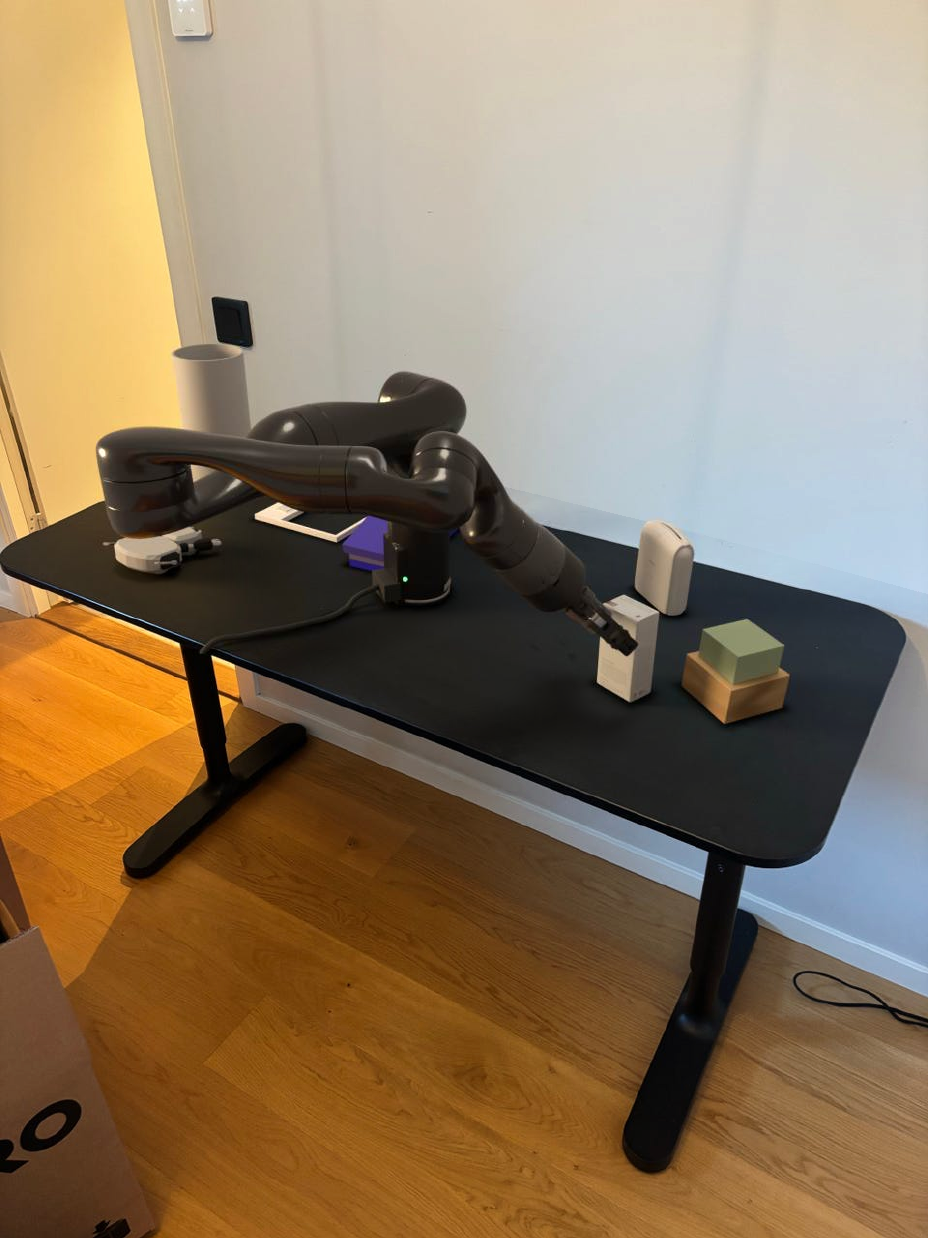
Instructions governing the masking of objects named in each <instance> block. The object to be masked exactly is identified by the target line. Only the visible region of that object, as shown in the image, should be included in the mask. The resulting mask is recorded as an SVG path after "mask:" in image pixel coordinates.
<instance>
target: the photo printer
mask: <svg viewBox="0 0 928 1238" xmlns="http://www.w3.org/2000/svg"><path fill="white" fill-rule="evenodd" d="M638 543H639V545H638V551H637V552H638V553H637V560H636V561H637V562H636V568H635V569H636V570H635V578H634V588H635V590H636V591H637V592H638V593H639V594H640V595H641V596H642V597H643V598H644V599H645V600H646V601H647V602H649V604H651V605H652V606H654V608H656V609H657V611H659V612H661V613H662V614H664V615H667V616H679V615H681V614H683V613H684V611H686V609H687V605H688V598H689V591H690V584H691V577H692V571H693V565H694V559H695V549H694V546H693V544H692V542H691V541H690V540H689V538H688V537H687V536H686V535H685V534H684V533H683V532H682V531H681V530H680V529H679V528H678V527H676V526H675V525H673V524H672V523H670V522H668V521H665V520H661V519H653V520H648V521H647V522H645V524H644V525H643V527H642V528H641V531H640V536H639V542H638Z"/></svg>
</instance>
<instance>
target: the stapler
mask: <svg viewBox="0 0 928 1238" xmlns="http://www.w3.org/2000/svg"><path fill="white" fill-rule="evenodd" d="M364 518H365V520H364V521H363V522H362V523H361V524H360V525H359V526H358V527H357V529H356V530H355V531H354V532H353V533H352V534H350V535H348V537H347V539H346V540H345V541H344V542H343V543H342V549H343V553H345V554H348V558H349V559H348V560H349V567H353V568H358V569H362V570H366V571H371V572H372V570H377V569H383V568H384V551H383V533H385V532H388V531H387V521H385V520H382V519H378V518H375V517H372V516H368V515H366V517H364ZM458 530H460V528H458V529H455V530H453V531H450V537H451V536H452V535H454V533H455V534H456V533H457V531H458Z"/></svg>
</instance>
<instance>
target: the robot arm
mask: <svg viewBox="0 0 928 1238" xmlns="http://www.w3.org/2000/svg"><path fill="white" fill-rule="evenodd" d="M467 411H468V409H467V404H466V400H465V398H464V396H463V394H462V393H461V392H460V391H459V389H458V388H457V387H455V386H454V385H452V384H451V383H449V382H447V381H445V380H444V379H443V380H442V379H440V378H439V379H438V378H436V377H431V376H428V375H425V374H421V373H417V372H412V371H409V370H408V371H407V370H401V371H397V372H394V373H393V374H391V375H390V376H388V378H387V379H386V380H385V381H384V382H383V384H382V386H381V389H380V391H379V394H378V398H377V401H375V402H373V401H372V402H371V401H342V400H341V401H340V400H339V401H335V400H334V401H317V402H311V403H304V404H301V405H296V406H291V407H289V408H288V407H287V408H285V409H280V410H277V411H273V412H271V413H269V414H267V415H266V416H264V417H263V418H262V419H260V420H259V421H258V422H257V423H256V424H255V425H254V426H253V427H251V430H250V431H249V433H248V434H247V435H246V436H245V437H244V438H242V437H236V436H229V435H223V434H215V433H208V432H200V431H193V430H186V429H182V428H177V427H169V426H153V425H151V426H150V425H146V426H144V425H143V426H132V427H127V428H126V427H125V428H121V429H117V430H114V431H110V432H109V433H106V435H104V436H102V437H101V438H100V439H99V440H98V441H97V443H96V445H95V458H96V463H97V468H98V469H97V470H98V475H99V479H100V485H101V489H102V494H103V500H104V503H105V509H106V513H107V518H108V520H109V523H110V526H111V528H112V530H113V531H114V532H115V533H116V534H117V535H118V536H121V537H123V538H131V539H145V538H153V537H158V536H163V535H167V534H170V533H173V532H176V531H179V530H182V529H185V528H187V527H193V526H195V525H197V524H200V523H202V522H205V521H207V520H210V519H212V518H213V517H217V516H219V515H220V514H223V513H226V512H228V511H230V510H232V509H235V508H237V507H239V506H242V505H244V504H247V503H249V502H252V501H255V500H258V499H261V498H264V497H268V498H270V499H271V500H274V501H275V502H276V503H278V502H279V503H281V504H283V505H285V506H287V507H289V508H292V509H295V510H298V511H301V512H303V513H308V514H315V515H351V516H352V515H353V516H355V515H357V516H359V515H365V516H372V517H375V518H378V519H382V520H385V521H387V531H388V532H385V533H383V551H384V568H383V569H377V570H372V571H371V576H372V577H371V579H372V585H371V586H368V587H367V588H364V589H362V590H360V591H358V592H356V593H355V594H354V595H352V596H351V597H350V598H349V600H348V601H347V602H346V604H345V605H344V606H342V607H341V608H339V609H337V610H336V611H333V612H331V613H329V614H326V615H323V616H318V617H314V618H310V619H306V620H302V621H301V620H300V621H298V622H294V623H290V624H284V625H279V626H271V627H266V628H260V629H255V630H249V631H245V632H240V633H232V634H224V635H218V636H216V637H214V638H212V639H210V640H209V641H207V643H205V644H204V645H203V646H202V648H201V649H200V651H199V654H200V655H204V654H207V653H208V652H209V651H210V650H211V649H212V648H213V647H215V646H216V645H218V644H221V643H223V642H230V641H241V640H246V639H251V638H256V637H261V636H265V635H273V634H278V633H284V632H288V631H289V632H290V631H294V630H297V629H301V628H305V627H309V626H313V625H318V624H322V623H325V622H329V621H332V620H334V619H335V620H336V618H339V617H341V616H342V615H344V614H346V613H347V612H349V611H350V610H351V609H352V607H353V606H354V605H355V603H356V602H357V601H358V600H360V599H361V598H363V597H364V596H367V595H370V594H372V593H374V592H376V593H377V595H378V596H379V597H380V599H381V601H382V602H383V603H385V604H386V603H391V602H394V603H395V604H396V606H398V607H399V606H400V607H401V606H410V607H411V606H412V607H425V606H432V605H436V604H438V603H439V604H440V603H441V602H443V601H444V600H446V599H447V598H448V597H449V595H450V593H451V591H450V589H451V583H452V577H450V550H451V548H450V545H451V544H450V543H451V542H450V541H451V539H450V538H451V536H450V531H453V530H455V529H458V528H459V529H458V530H460V535H461V538H462V541H463V543H464V544H465V546H466V547H467V548H468V549H469V550H470V551H471V552H472V553H474V554H475V555H476V556H477V557H478V558H479V559H480V560H482V561H483V562H484V563H485V564H486V565H488V567H490V568H491V569H492V570H493V571H494V572H495V574H497V576H498V577H499V578H500V579H501V580H502V581H503V582H504V583H506V584H507V585H508V586H509V587H510V588H512V589H513V590H514V591H515V592H516V593H518V594H519V596H521V597H523V598H524V599H525V600H526V601H527V602H528V603H530V604H531V605H532V606H533V607H534V608H535V609H537V610H538V611H541V612H543V613H555V612H558V611H560V610H562V611H563V612H564V614H565V615H567V616H568V618H570V619H571V620H573V621H577V622H578V623H579V624H580V625H581V626H582V627H583V628H585V630H587V631H588V632H589V633H590V634H592V635H595V634H597V635H598V636H599V638H600V637H601V638H603V639H604V640H605V642H606V643H607V644H610V645H611V646H610V647H611V648H612V649H615V650H617V649H618V650H619V651H620V652H621V653H622V654H623V655H624V656H629V655H630V654H631V653H632V652H633V651H634V650H635V649H636V648H637V646H638V642H636V641H635V640H634V639H633V638H632V637H631V636H630V634H629V631H628V630H627V629H626V630H625V629H623V626H622V625H621V624H620V625H619V624H618V623H617V622H616V621H615V620H613V619H612V617H611V616H612V613H611V611H610V610H609V609H608V608H606V607H605V606H604V605H603V604H604V603H602V602H601V601H600V600H599V599H598V598H597V597H596V594H595V593H594V592H593V591H592V590H591V589H589V587H587V586H586V585H585V586H584V584H585V581H586V568H585V564H584V563H583V561H582V560H581V559H580V558H579V557H578V556H576V554H575V553H573V552H572V551H571V550H570V549H569V548H568V547H567V545H565V544H564V543H563V542H562V541H560V540H559V538H558V537H557V536H555V535H554V534H553V533H552V532H551V531H550V530H548V528H546V527H545V526H543V525H542V524H540V523H539V522H537V521H536V520H534V518H533V517H531V516H530V515H529V514H528V513H527V512H526V511H525V510H524V509H523V507H521V506H519V505H518V503H516V502H515V501H514V500H513V499H512V498H511V497H510V495H509V493H508V491H507V489H506V488H505V486H504V484H503V482H502V481H501V479H500V477H499V476H498V475H497V473H496V471H495V470H494V469H493V467H492V466H491V464H490V462H489V461H488V460H487V458H486V457H485V456H484V454H483V453H482V452H481V451H480V450H479V448H478V447H477V446H476V445H475V444H474V443H472V442H471V441H469V440H468V439H466V437H464V436H462V435H460V434H459V433H460V432H461V431H462V429H463V426H465V425H464V424H465V422H466V419H467V413H468V412H467ZM191 465H197V466H203V467H208V468H211V469H215V470H213V471H212V472H211V473H209V474H207V475H206V476H204V477H202V478H200V479H198V480H196V481H194V482H193V475H192V469H191Z"/></svg>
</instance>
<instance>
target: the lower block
mask: <svg viewBox="0 0 928 1238" xmlns="http://www.w3.org/2000/svg"><path fill="white" fill-rule="evenodd" d="M698 654H699V650H696V651H693V652H688V653H686V657H685V662H684V669H683V675H682V681H681V687H682V688H683V689H684V690H686V691H687V693H689V694H690V695H691V696H692V697H693V698H694V699H696V700H697V701H698V702H699V703H700V704H701V705H703V707H704V708H705V709H706V710H708V711H709V712H710V713H711V714H713V716H714V717H716V718H717V719H718V720H719V721H720V722H722V724H724V725H727V724H729V723H733V722H737V721H740V720H744V719H748V718H751V717H754V716H758V715H762V714H765V713H768V712H773V711H775V710H780V709H782V708H783V706H784V701H785V697H786V693H787V689H788V685H789V680H790V676H791V675H790V674H789V673H788V672H786V671H785V670H783V669H782V668H781V667H779V671H778V673H774V674H770V675H767V676H763V677H759V678H755V679H751V680H748V681H744V682H740V683H736V684H732V683H730V682H729V681H728V680H727V679H726V678H724V677H723V676H722V675H721V674H720V673H718V672H717V671H716V670H715V669H713V668H712V667H711V666H710V665H709V664H707V663H706V662H705V661H704V660H703V659H701V658H700V657H699V656H698Z"/></svg>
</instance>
